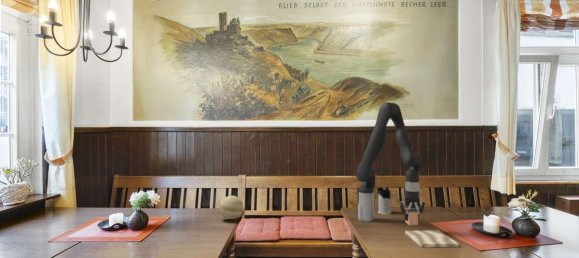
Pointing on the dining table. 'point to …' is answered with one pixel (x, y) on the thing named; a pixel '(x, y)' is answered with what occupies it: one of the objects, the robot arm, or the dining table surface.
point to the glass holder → (385, 201)
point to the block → (412, 217)
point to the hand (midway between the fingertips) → (411, 220)
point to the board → (431, 238)
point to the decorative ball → (231, 207)
